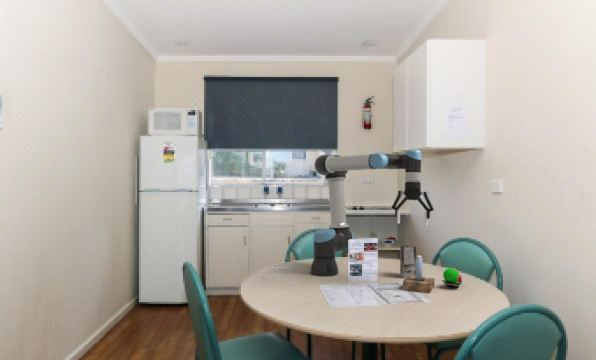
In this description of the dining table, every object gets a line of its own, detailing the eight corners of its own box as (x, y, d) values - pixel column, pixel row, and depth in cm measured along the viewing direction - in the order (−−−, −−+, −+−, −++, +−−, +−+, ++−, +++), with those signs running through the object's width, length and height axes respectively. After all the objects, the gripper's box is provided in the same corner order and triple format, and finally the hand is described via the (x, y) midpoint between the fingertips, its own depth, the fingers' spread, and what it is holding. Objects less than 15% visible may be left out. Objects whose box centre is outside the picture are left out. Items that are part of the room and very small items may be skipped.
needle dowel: (414, 288, 197) (414, 256, 197) (416, 287, 200) (416, 255, 200) (421, 289, 196) (421, 256, 195) (423, 287, 198) (423, 255, 198)
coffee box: (416, 278, 216) (416, 247, 216) (403, 278, 216) (403, 247, 216) (411, 274, 225) (411, 244, 225) (399, 274, 226) (399, 244, 225)
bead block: (403, 289, 195) (403, 281, 195) (409, 283, 206) (409, 275, 206) (429, 292, 190) (429, 284, 190) (434, 286, 200) (434, 278, 200)
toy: (445, 289, 208) (439, 279, 197) (447, 274, 211) (441, 263, 200) (463, 292, 203) (459, 282, 192) (465, 276, 207) (460, 265, 196)
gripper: (385, 180, 210) (385, 223, 211) (437, 182, 198) (436, 227, 199) (390, 180, 217) (389, 221, 217) (440, 181, 205) (439, 225, 205)
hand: (412, 224), depth 208 cm, fingers open, 13 cm apart
